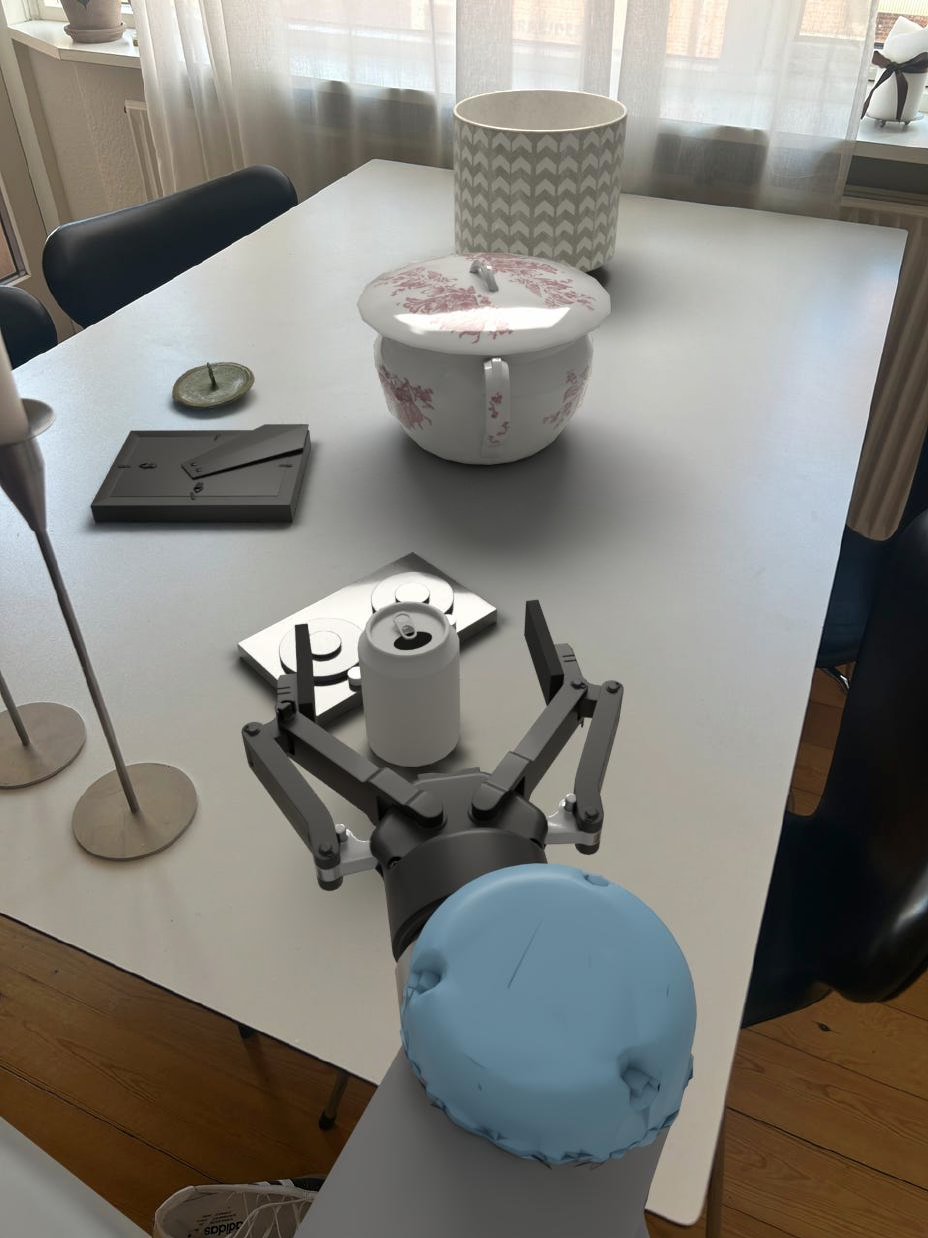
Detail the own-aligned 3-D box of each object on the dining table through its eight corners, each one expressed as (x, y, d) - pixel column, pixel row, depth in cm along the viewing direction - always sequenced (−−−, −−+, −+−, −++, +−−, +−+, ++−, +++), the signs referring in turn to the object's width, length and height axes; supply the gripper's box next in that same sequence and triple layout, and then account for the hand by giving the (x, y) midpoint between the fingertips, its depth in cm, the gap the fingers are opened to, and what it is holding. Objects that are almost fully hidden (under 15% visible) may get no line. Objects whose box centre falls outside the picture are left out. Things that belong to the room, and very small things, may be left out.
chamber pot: (457, 362, 129) (455, 202, 116) (640, 420, 117) (661, 247, 104) (316, 450, 112) (294, 273, 99) (513, 528, 100) (519, 338, 86)
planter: (629, 256, 159) (645, 95, 144) (588, 313, 142) (601, 137, 126) (487, 238, 166) (488, 83, 151) (431, 291, 149) (425, 121, 133)
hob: (239, 656, 85) (235, 634, 84) (413, 563, 95) (412, 543, 94) (319, 729, 78) (315, 707, 77) (497, 621, 89) (497, 600, 87)
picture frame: (311, 445, 113) (134, 446, 113) (308, 423, 111) (129, 424, 111) (292, 521, 101) (95, 522, 101) (289, 498, 99) (88, 499, 99)
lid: (269, 395, 126) (267, 356, 124) (234, 412, 117) (231, 371, 115) (196, 390, 128) (192, 351, 126) (156, 406, 119) (151, 365, 117)
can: (386, 787, 74) (376, 672, 66) (354, 722, 79) (341, 609, 71) (476, 756, 76) (476, 642, 68) (438, 695, 81) (435, 583, 73)
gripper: (199, 1037, 42) (215, 697, 58) (741, 954, 45) (615, 653, 61) (164, 944, 37) (193, 601, 53) (774, 858, 40) (628, 558, 56)
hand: (418, 628), depth 57 cm, fingers open, 13 cm apart
